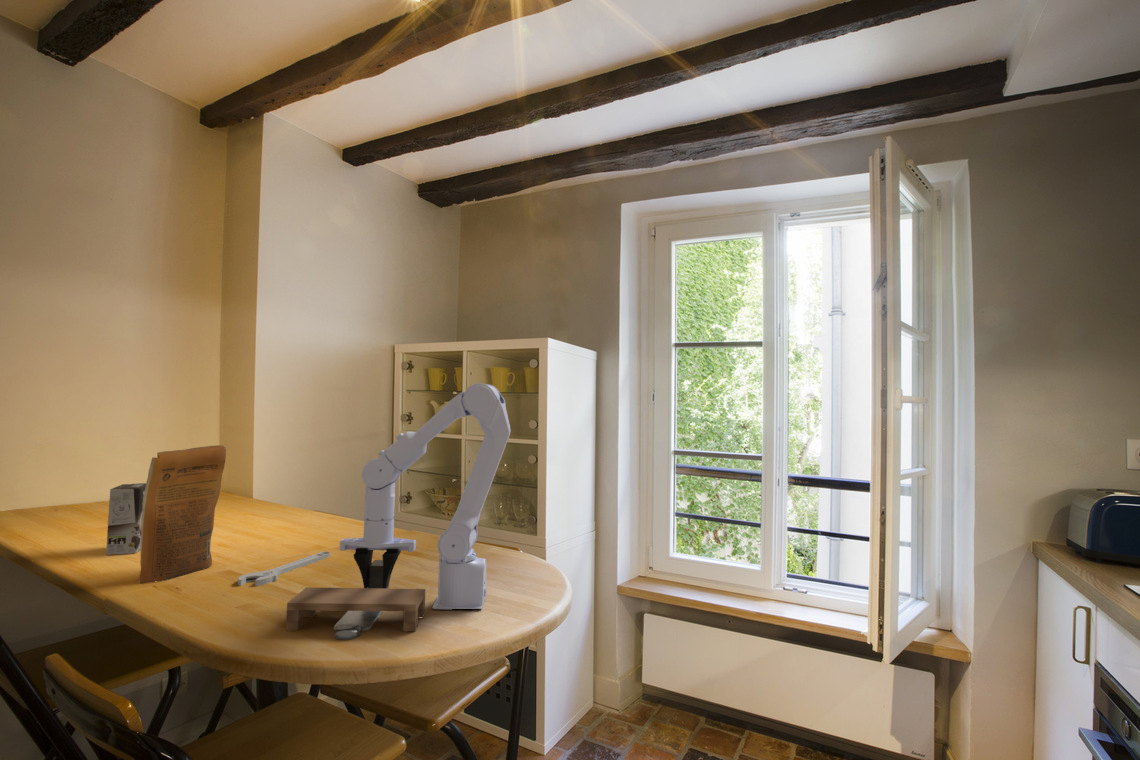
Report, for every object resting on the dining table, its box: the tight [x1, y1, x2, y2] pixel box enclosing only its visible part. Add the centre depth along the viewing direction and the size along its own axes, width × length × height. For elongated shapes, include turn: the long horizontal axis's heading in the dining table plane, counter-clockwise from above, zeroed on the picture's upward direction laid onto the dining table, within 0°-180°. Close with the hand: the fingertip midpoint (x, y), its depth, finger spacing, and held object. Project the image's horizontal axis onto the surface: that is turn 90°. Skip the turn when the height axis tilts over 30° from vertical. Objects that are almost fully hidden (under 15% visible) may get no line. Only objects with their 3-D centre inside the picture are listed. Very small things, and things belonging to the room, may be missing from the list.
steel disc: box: [334, 624, 361, 641], centre depth 97 cm, size 4×4×1 cm
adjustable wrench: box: [237, 551, 331, 587], centre depth 131 cm, size 25×6×2 cm, turn 158°
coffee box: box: [105, 482, 146, 556], centre depth 143 cm, size 9×6×16 cm
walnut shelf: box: [285, 586, 426, 633], centre depth 102 cm, size 22×8×5 cm, turn 93°
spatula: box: [333, 559, 390, 631], centre depth 108 cm, size 6×18×7 cm, turn 3°
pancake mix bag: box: [137, 444, 227, 584], centre depth 126 cm, size 7×19×28 cm, turn 159°
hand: (376, 586), depth 113 cm, fingers closed on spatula, 3 cm apart
